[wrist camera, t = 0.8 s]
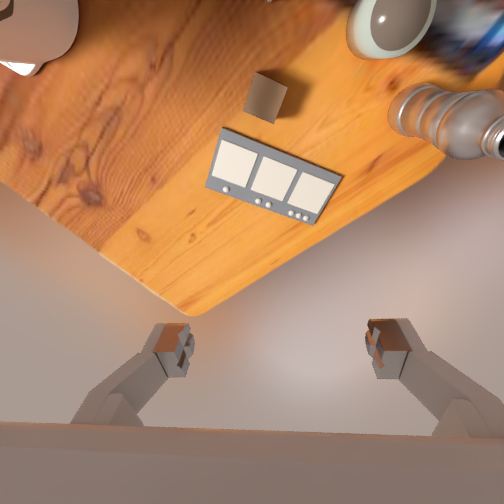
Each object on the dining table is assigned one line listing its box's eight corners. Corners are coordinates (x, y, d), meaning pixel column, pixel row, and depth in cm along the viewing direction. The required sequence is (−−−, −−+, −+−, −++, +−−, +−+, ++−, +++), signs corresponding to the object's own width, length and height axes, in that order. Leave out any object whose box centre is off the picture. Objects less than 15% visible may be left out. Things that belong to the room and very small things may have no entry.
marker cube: (244, 106, 37) (242, 110, 34) (255, 71, 35) (254, 72, 31) (272, 118, 38) (273, 124, 34) (284, 85, 36) (287, 87, 32)
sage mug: (335, 45, 33) (351, 40, 27) (367, -28, 29) (394, -52, 23) (379, 69, 34) (404, 69, 28) (416, 2, 30) (454, -14, 25)
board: (205, 185, 44) (204, 187, 43) (222, 127, 39) (221, 128, 38) (312, 223, 48) (313, 226, 47) (340, 175, 43) (342, 177, 42)
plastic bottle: (417, 135, 39) (531, 182, 23) (375, 129, 39) (459, 173, 22) (440, 85, 35) (596, 99, 19) (393, 78, 35) (512, 87, 19)
